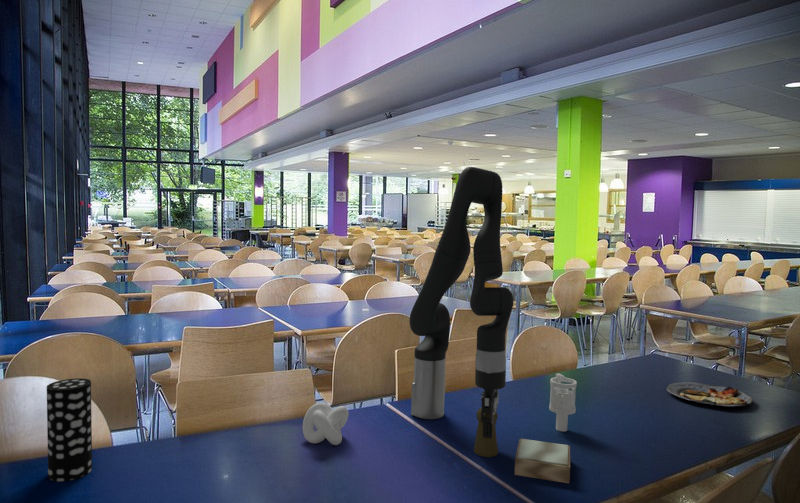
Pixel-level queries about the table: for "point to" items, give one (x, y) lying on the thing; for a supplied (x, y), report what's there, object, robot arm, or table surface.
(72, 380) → the white-spotted black cylinder
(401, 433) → the table surface
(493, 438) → the cork
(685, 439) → the table surface
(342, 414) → the grey torus knot
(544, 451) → the base block
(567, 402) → the grey mechanical part
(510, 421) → the table surface
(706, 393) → the food plate
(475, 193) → the robot arm
